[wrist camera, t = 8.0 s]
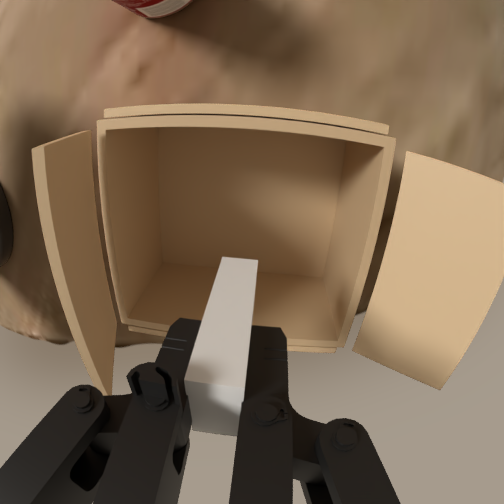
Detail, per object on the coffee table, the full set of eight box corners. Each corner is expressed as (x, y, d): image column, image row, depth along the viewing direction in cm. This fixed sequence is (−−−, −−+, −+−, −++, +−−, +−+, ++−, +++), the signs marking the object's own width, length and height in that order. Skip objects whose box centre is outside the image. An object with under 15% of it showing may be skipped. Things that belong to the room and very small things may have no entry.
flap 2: (440, 390, 15) (441, 385, 15) (530, 195, 9) (528, 194, 9) (352, 350, 18) (354, 346, 19) (406, 151, 13) (407, 150, 13)
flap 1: (43, 146, 7) (31, 148, 7) (111, 403, 13) (103, 403, 13) (91, 129, 13) (82, 130, 13) (117, 323, 19) (110, 323, 19)
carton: (160, 270, 28) (123, 330, 20) (155, 107, 21) (96, 109, 13) (325, 286, 28) (341, 354, 20) (353, 120, 21) (397, 127, 13)
